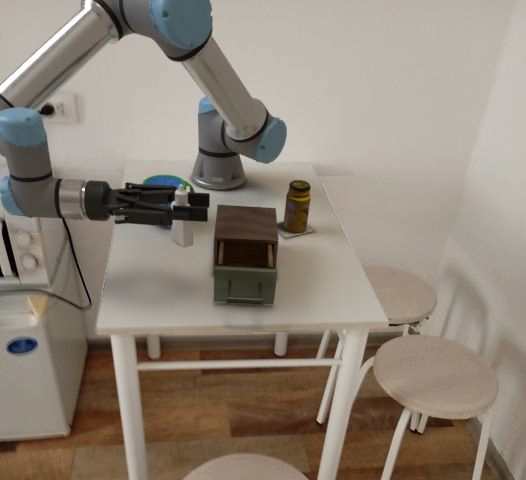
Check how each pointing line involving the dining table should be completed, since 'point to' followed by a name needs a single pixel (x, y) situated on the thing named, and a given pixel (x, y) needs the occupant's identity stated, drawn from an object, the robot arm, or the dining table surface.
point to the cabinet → (245, 227)
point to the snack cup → (167, 180)
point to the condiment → (296, 209)
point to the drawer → (245, 273)
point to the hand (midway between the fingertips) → (208, 207)
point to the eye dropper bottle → (182, 229)
